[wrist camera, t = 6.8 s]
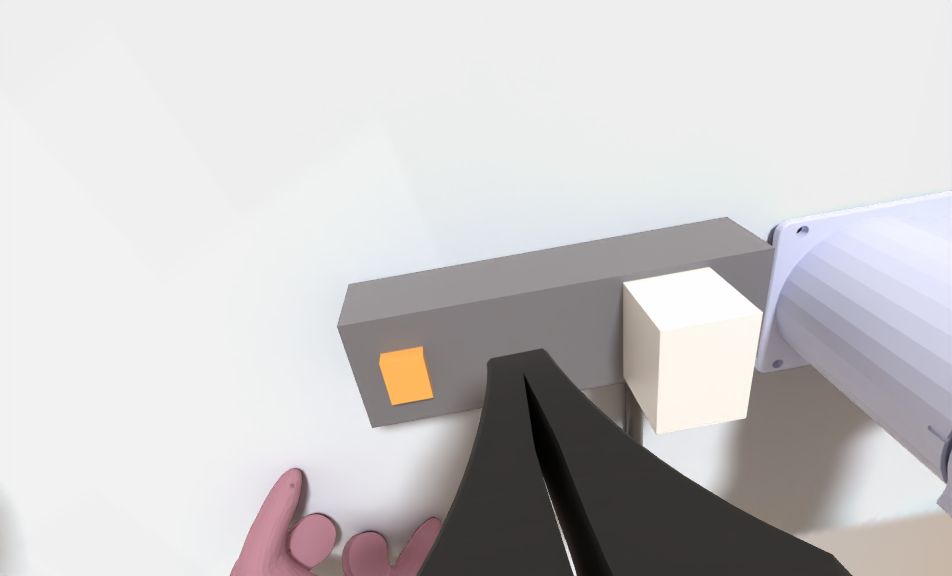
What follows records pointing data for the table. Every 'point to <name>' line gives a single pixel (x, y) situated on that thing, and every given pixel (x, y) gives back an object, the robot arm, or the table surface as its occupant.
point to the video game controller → (320, 541)
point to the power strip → (573, 325)
